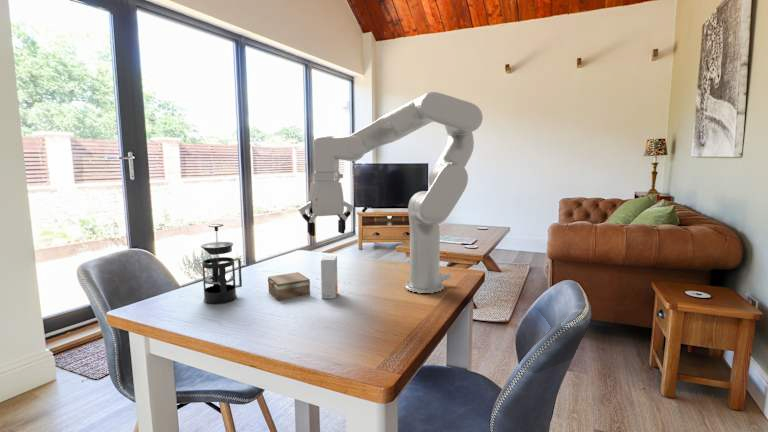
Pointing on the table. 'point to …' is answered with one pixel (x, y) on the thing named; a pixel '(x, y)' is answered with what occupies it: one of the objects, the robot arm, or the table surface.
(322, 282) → the skincare box
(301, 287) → the gift box
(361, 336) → the table surface
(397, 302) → the table surface
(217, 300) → the french press
